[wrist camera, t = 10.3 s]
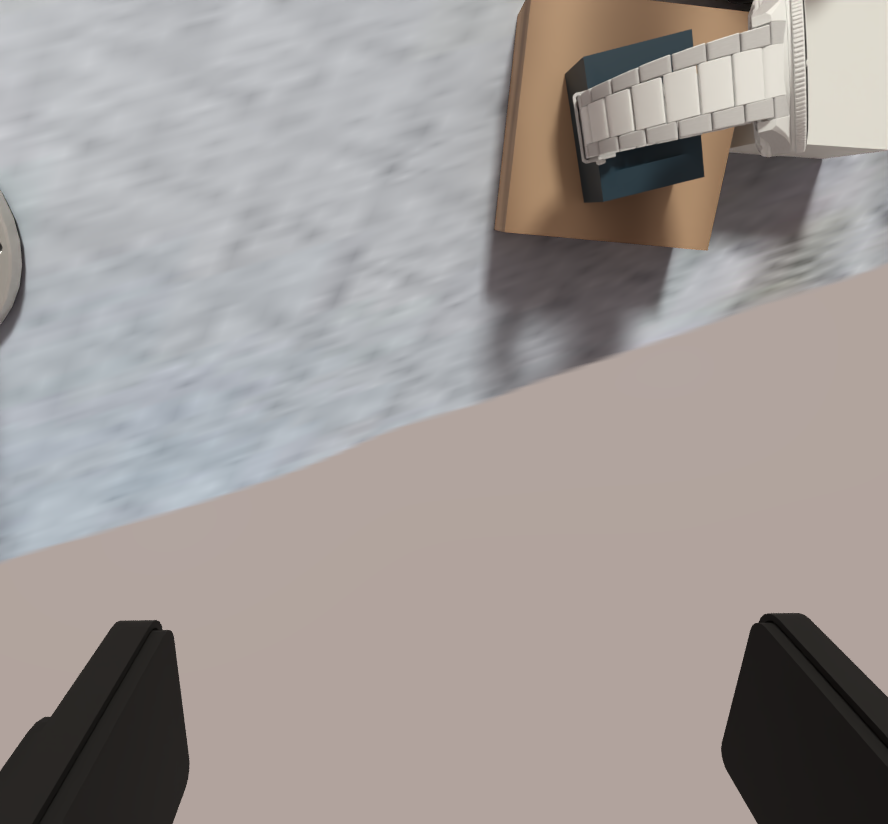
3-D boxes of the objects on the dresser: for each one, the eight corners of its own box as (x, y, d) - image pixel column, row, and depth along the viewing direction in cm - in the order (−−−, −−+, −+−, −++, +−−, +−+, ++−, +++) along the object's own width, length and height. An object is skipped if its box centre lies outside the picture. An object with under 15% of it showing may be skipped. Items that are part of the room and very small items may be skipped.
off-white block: (712, 151, 31) (763, 141, 27) (735, 20, 30) (796, -16, 25) (821, 158, 32) (891, 149, 27) (851, 29, 30) (933, -4, 25)
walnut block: (494, 229, 32) (504, 232, 28) (517, 15, 29) (532, -14, 25) (674, 246, 33) (707, 250, 29) (715, 38, 30) (759, 13, 26)
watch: (715, 170, 28) (893, 145, 17) (547, 211, 28) (623, 212, 18) (704, 36, 26) (896, -81, 16) (525, 81, 26) (595, -4, 16)
